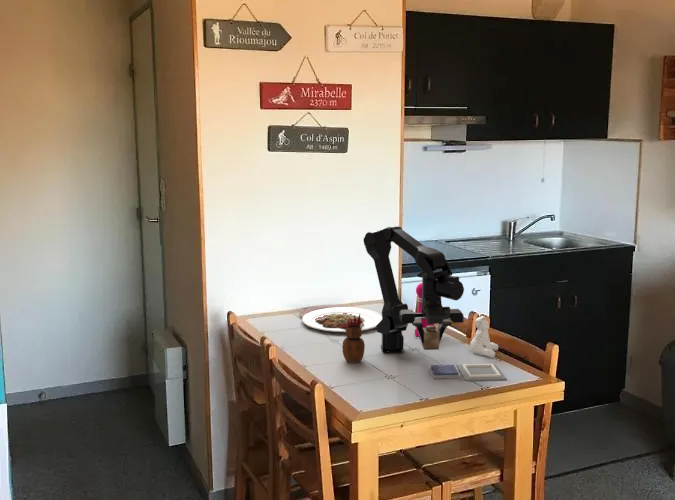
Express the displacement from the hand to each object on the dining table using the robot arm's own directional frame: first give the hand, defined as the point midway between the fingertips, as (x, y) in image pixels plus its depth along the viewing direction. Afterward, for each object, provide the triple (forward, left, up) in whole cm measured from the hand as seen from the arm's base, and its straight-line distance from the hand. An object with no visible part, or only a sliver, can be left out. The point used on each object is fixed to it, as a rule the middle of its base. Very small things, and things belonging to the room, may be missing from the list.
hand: (430, 343), depth 218 cm
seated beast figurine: (+19, +10, -7) cm, 23 cm away
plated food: (-24, +45, -7) cm, 52 cm away
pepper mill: (+3, +29, -7) cm, 30 cm away
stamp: (0, 0, -1) cm, 1 cm away
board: (+14, -8, -7) cm, 17 cm away
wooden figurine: (-23, +4, -7) cm, 24 cm away
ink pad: (+3, -8, -7) cm, 11 cm away
